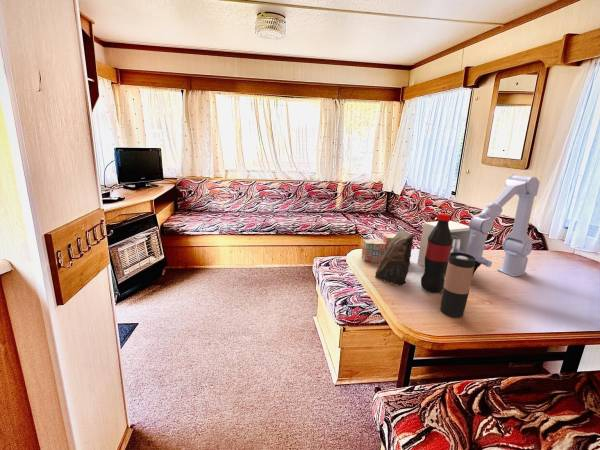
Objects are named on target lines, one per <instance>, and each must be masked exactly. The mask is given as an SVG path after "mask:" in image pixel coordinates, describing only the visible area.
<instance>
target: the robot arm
mask: <svg viewBox="0 0 600 450" xmlns="http://www.w3.org/2000/svg"><path fill="white" fill-rule="evenodd" d="M540 184H541V183H540V181H539V179H538V178H537V177H535V176H526V175H518V174H515V173H513V174H510V175H509V176H508V177H507V179H506V180H505V183H504V188H503V189H502V191H501V192H500V193H499V195H498V196H497V197H496V199H495V200H494V201H493V202H489V203H487V205H486V206H485V207H484V208H483V209H482V211H481V212H480V213H479V214H477V215H475V216H473V217H472V218H471V219H470V221H469V222H468V226H469V228H470V231H469V232H470V238H469V243H468V248H467V252H465V251H462V250H457V252H459V253H465V254H469V255H471V256H473V257H475V259H476V260H475V265H474V270H473V275H472V278H473V276H474V274H475V273H476V271H477V270H478V268H480V267H481V265H484V266H485V267H486V268H490V267H492V265H493V262H492V261H491V260H489V259H487V258H485V257H483V253H484V249H485V244H486V240H487V234H488V233H490V232H491V230H492V229H493V226H494V223H495V221H496V219H497V218H498V217H499V216H500V215H501V213H503V207H504V206H505V205H506V204H507V203H508V202H509V201H510V200H511V199H512V198H513V197H514V196H516V195H517V196H518V201H517V207H516V211H515V215H514V221H513V226H512V229H511V232H508V233H507V234H505V237H504V239H503V241H502V244H501V245H502V249H503V252H504V256H503V257H504V258H503V262H502V265H501V267H500V268H496V270H497V271H498V272H501V273H504V274H506V275H508V276H511V277H513V278H514V277H519V276H525V275H527V274H528V273H527V272H526V269H527V264H528V261H529V259H528V256H529V255H530V254H531V252H532V250H533V239H532V238H531V237H530V235H529V234H528V233H527V232H528V228H529V224H530V219H531V215H532V210H533V206H534V202H535V197H537V195H538V192H539V187H540Z"/></svg>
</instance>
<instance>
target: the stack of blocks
mask: <svg viewBox="0 0 600 450" xmlns="http://www.w3.org/2000/svg"><path fill="white" fill-rule="evenodd" d="M396 234H397V233H395V234H394V233H383V234H382V235H381V239H365V238H363V240H362V246H361V247H362V249H361V259H362V260H363V262H365V263H379V262H380V260H381V258H382V256H383V254H384V252H385V251H386V249H387V246H388V244H389V243H390V241H391V240H392V239H393V237H394V236H395V235H396ZM412 241H414V239H413V240H412ZM412 250H413V246H412V247H411V251H412ZM409 260H411V258H410V259H409Z"/></svg>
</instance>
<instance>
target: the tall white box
mask: <svg viewBox="0 0 600 450" xmlns="http://www.w3.org/2000/svg"><path fill="white" fill-rule="evenodd" d="M437 223H438V220H437V221H436V220H435V221H428V222H423V226H422V230H421V231H422V232H421V238H420V245H419V251H418V258H417V264H418V265H420V266H422V267H424V268H425V255H426V249H427V243H428V237H429V235H430V233H431V232H432V230H433V229H434V228H435V226H436V225H437ZM448 224H449V229H450V232H451V235H453V236H458V237H460V238H461V244H460V250H462V251H465V252H467V248H468V243H469V238H470V232H469V231H470V228H469V225H468V224H463V223H460V222H457V221H454V220H453V221H452V220H450V222H448Z"/></svg>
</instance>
